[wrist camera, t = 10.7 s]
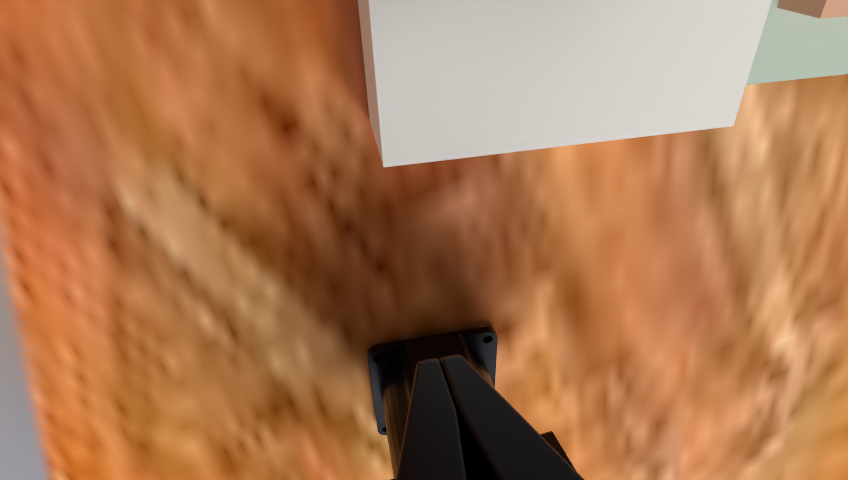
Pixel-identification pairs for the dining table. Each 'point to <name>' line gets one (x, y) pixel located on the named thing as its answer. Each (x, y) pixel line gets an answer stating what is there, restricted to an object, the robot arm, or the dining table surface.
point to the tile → (816, 7)
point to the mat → (799, 47)
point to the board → (550, 71)
